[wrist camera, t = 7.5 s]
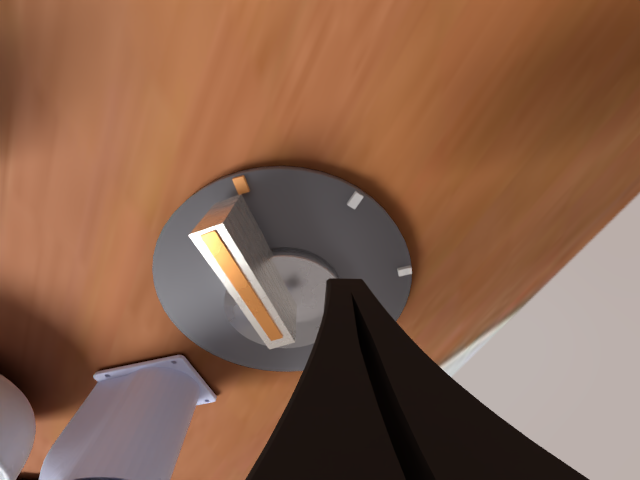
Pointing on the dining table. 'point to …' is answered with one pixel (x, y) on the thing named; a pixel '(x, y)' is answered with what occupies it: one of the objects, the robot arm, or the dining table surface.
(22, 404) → the serving bowl
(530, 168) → the dining table surface
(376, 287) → the dial plate
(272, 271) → the grey bar on dome
